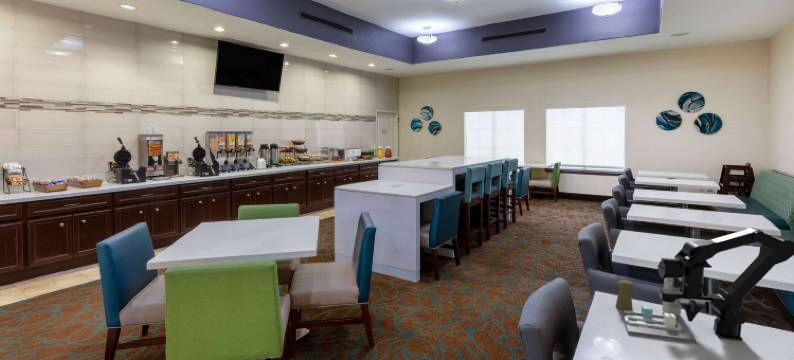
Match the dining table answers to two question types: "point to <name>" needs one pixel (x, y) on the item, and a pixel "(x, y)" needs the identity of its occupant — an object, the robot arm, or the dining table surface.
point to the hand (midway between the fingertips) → (689, 321)
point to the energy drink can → (669, 306)
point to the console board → (655, 326)
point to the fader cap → (669, 320)
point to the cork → (624, 295)
